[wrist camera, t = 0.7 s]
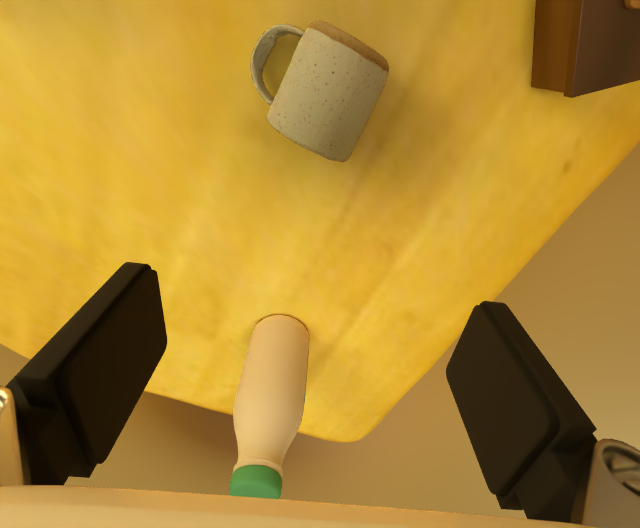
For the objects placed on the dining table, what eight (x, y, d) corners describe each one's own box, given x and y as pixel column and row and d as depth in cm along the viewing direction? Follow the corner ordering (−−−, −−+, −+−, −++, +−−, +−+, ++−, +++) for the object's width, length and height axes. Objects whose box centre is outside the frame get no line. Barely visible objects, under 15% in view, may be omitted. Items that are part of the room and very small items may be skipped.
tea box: (528, 89, 30) (576, 99, 24) (537, -64, 25) (599, -98, 19) (607, 68, 29) (675, 73, 23) (633, -96, 24) (729, -142, 18)
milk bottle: (242, 322, 46) (191, 484, 29) (294, 305, 44) (272, 467, 27) (269, 359, 49) (238, 522, 32) (318, 345, 48) (312, 509, 31)
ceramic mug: (389, 62, 29) (404, 65, 23) (345, 150, 33) (347, 174, 27) (274, -4, 27) (254, -22, 21) (242, 99, 31) (217, 111, 25)
